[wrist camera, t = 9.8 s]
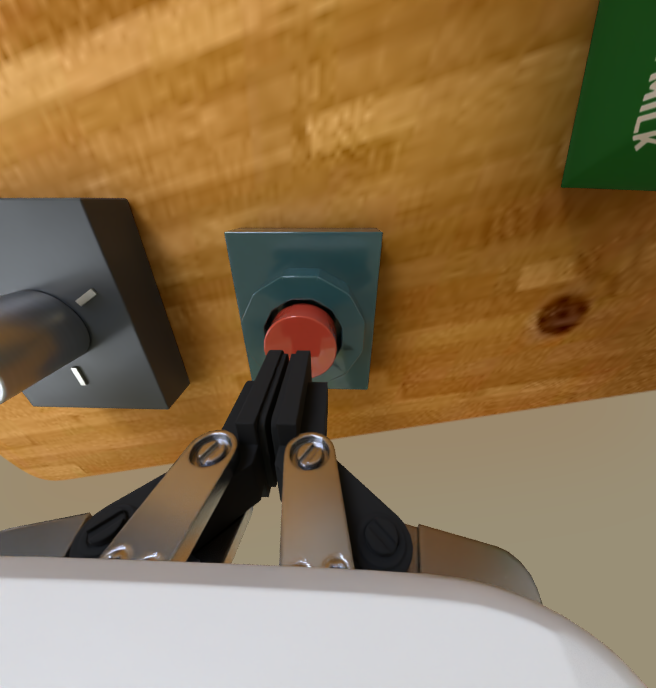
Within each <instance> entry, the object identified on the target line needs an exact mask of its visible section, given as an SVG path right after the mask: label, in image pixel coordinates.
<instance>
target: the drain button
mask: <svg viewBox="0 0 656 688" xmlns="http://www.w3.org/2000/svg"><path fill="white" fill-rule="evenodd" d="M269 350H283V351H284V354H288V355H289V360H290V357H291V354H296V351H297V350H310V351H311V370H312V378H314V377H317V376H319V375H321V374H323V373H324V372H326V371H327V370H328V369H329V368H330V367H331V366H332V364H333V362H334V360H335V358H336V354H337V329H336V326H335V323H334V321H333V319H332V318H331V317H330V315H329V314H328V313H327V312H325V311H324V310H323V309H321V308H319V307H317V306H315V305H312V304H307V303H297V304H292V305H289V306H287V307H285V308H284V309H282V310H281V311H280V312H279V313H278V314H277V315H276V316H275V318H274V320H273V322H272V323H271V325H270V327H269V329H268V331H267V333H266V335H265V338H264V351H265V355H267V353H268V351H269Z"/></svg>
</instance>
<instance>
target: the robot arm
mask: <svg viewBox="0 0 656 688" xmlns="http://www.w3.org/2000/svg"><path fill="white" fill-rule="evenodd" d="M327 415H328V382H312V370H311V351H310V350H297V351H296V354H291V357H290V360H289V355H288V354H284V351H283V350H269V351H268V353H267V355H266V358H265V360H264V362H263V364H262V366H261V368H260V370H259V372H258V374H257V377H256V379H255V381H247V382H246V384H245V385H244V387H243V389H242V391H241V393H240V395H239V397H238V399H237V401H236V403H235V405H234V407H233V409H232V411H231V413H230V414H229V416H228V418H227V420H226V422H225V424H224V426H223V428H222V430H214V431H209V432H207V433H205V434H202V435H201V436H199V437H197V438H196V439H194V440H193V441H192V442H191V443H190V444H189V445H188V447H187V448H186V449H185V450H184V452H183V453H182V454H181V455H180V457H179V458H178V459H177V460H176V462H175V463H174V464H173V465H172V467H171V468H170V469H169V471H168V472H166V473H164V474H163V475H161V476H159V477H158V478H156V479H154V480H152V481H150V482H149V483H147V484H145V485H144V486H142V487H140V488H138V489H136V490H135V491H133V492H131V493H130V494H128V495H126V496H124V497H122V498H121V499H119V500H117V501H115V502H114V503H112V504H110V505H108V506H107V507H105V508H104V509H102V510H101V511H99V512H98V513H96V514H95V515H94V516H92V515H91V514H90V513H85V514H80V515H75V516H70V517H65V518H59V519H54V520H50V521H44V522H39V523H34V524H29V525H24V526H19V527H13V528H9V529H5V530H2V531H0V688H648V687H647V686H646V685H645V684H644V683H643V682H642V680H641V679H640V678H639V677H638V676H637V675H636V674H635V673H634V672H633V671H632V670H631V669H630V668H629V667H628V666H627V665H626V664H625V663H624V661H622V659H621V658H620V657H619V656H617V655H616V654H615V653H614V652H613V651H612V650H611V649H609V648H608V647H607V646H606V645H605V644H603V643H602V642H601V641H599V640H598V639H597V638H595V637H594V636H593V635H592V634H590V633H589V632H587V631H586V630H584V629H583V628H581V627H580V626H578V625H576V624H575V623H573V622H572V621H570V620H569V619H567V618H566V617H564V616H562V615H560V614H559V613H557V612H555V611H553V610H551V609H549V608H547V607H546V606H543V604H542V602H541V598H540V595H539V592H538V589H537V587H536V585H535V583H534V581H533V579H532V577H531V575H530V573H529V572H528V571H527V569H526V568H525V567H524V566H523V564H522V563H521V562H520V561H519V560H518V559H517V558H515V557H514V556H513V555H512V554H510V553H509V552H507V551H506V550H503V549H501V548H499V547H497V546H493V545H490V544H487V543H483V542H480V541H476V540H473V539H469V538H466V537H462V536H459V535H455V534H452V533H448V532H445V531H441V530H438V529H434V528H431V527H428V526H424V525H420V524H419V525H418V527H414V526H411V525H407V524H404V523H403V522H402V520H401V519H400V518H399V517H398V516H397V515H396V514H395V513H394V512H393V511H392V510H390V509H389V508H388V507H387V506H386V505H385V504H384V503H383V502H382V501H381V500H380V499H378V498H377V497H376V496H375V495H374V494H373V493H372V492H371V491H370V490H369V489H368V488H366V487H365V486H364V485H363V484H362V483H361V482H360V481H359V480H358V479H356V478H355V477H354V476H353V475H352V474H351V473H350V472H349V471H348V470H347V469H346V468H345V467H344V466H342V465H341V464H340V463H339V462H338V461H337V460H336V454H335V449H334V446H333V443H332V442H331V441H330V439H329V438H328V437H327ZM277 481H278V488H279V493H280V500H281V502H282V515H281V538H280V560H279V566H272V565H271V566H270V565H249V564H231V563H232V561H233V559H234V556H235V554H236V551H237V549H238V547H239V544H240V542H241V539H242V537H243V535H244V532H245V530H246V527H247V525H248V523H249V520H250V518H251V515H252V511H253V506H254V505H255V504H256V503H258V502H259V501H260V500H261V497H269V493H270V489H271V487H276V485H277Z"/></svg>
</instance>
